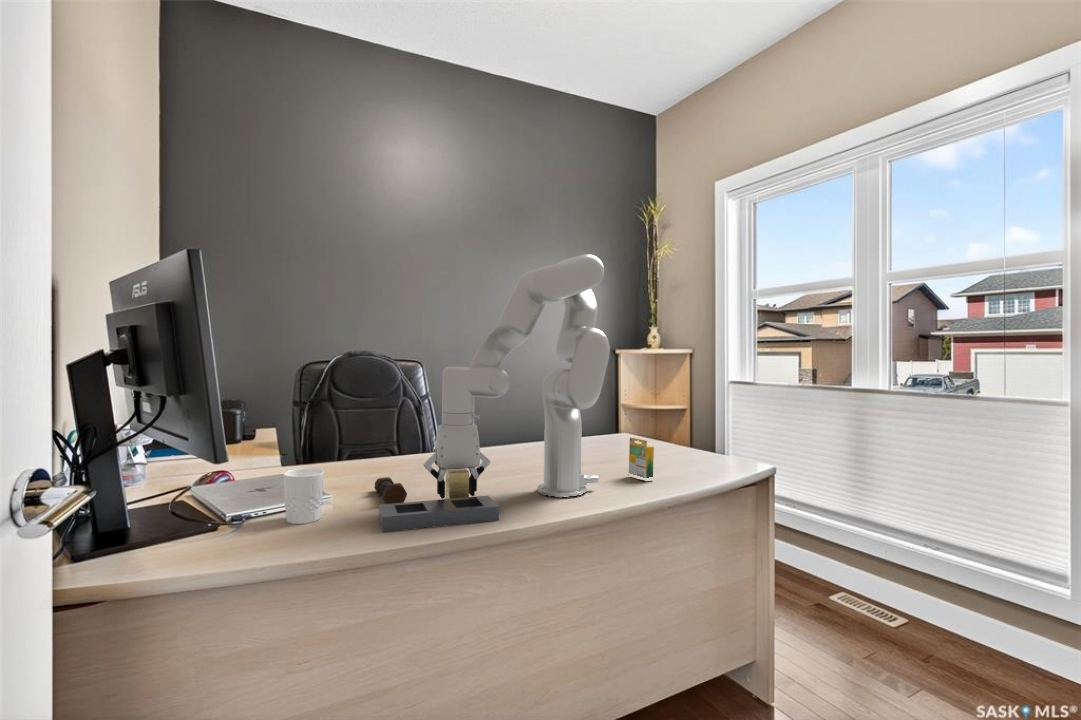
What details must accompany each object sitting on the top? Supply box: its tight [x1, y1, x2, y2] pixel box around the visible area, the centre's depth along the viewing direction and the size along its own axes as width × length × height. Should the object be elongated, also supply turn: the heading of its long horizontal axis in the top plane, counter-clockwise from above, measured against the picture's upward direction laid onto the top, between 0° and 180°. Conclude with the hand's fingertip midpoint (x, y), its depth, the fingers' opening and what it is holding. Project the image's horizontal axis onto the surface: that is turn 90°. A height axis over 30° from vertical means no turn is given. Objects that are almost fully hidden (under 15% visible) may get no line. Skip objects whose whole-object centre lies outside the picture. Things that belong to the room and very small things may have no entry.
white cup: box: [282, 467, 325, 525], centre depth 116 cm, size 8×8×10 cm
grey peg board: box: [378, 495, 500, 533], centre depth 117 cm, size 24×9×3 cm, turn 111°
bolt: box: [373, 476, 408, 504], centre depth 134 cm, size 6×5×15 cm
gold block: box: [445, 468, 470, 499], centre depth 129 cm, size 4×4×8 cm
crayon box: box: [628, 437, 655, 478], centre depth 157 cm, size 7×3×12 cm, turn 32°
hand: (457, 495), depth 129 cm, fingers open, 6 cm apart
